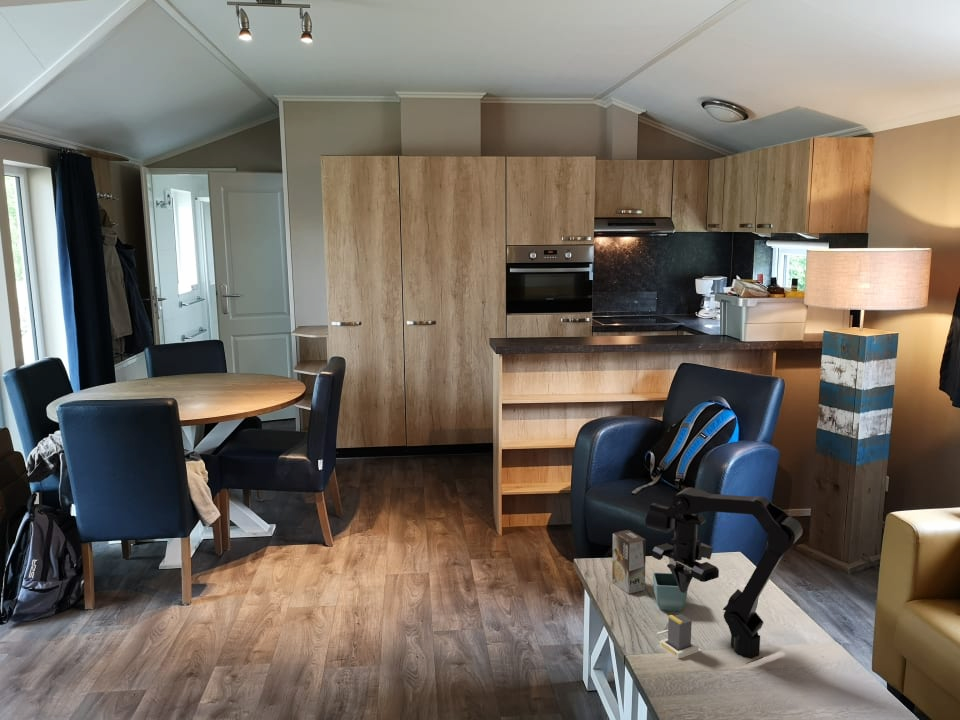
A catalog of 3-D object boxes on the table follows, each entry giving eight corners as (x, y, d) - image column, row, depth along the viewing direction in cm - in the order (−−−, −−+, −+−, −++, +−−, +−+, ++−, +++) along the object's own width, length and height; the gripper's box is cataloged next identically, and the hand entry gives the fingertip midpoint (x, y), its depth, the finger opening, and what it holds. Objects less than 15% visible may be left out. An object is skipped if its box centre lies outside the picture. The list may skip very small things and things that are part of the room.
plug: (690, 650, 194) (691, 618, 193) (678, 654, 192) (679, 622, 191) (678, 642, 198) (679, 611, 196) (666, 646, 196) (668, 615, 194)
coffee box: (646, 590, 230) (647, 539, 227) (628, 594, 227) (629, 543, 225) (627, 578, 238) (629, 529, 235) (610, 582, 235) (611, 532, 233)
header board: (707, 652, 195) (707, 643, 195) (674, 664, 190) (675, 654, 190) (672, 630, 207) (672, 621, 206) (640, 640, 201) (640, 631, 201)
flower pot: (682, 602, 222) (683, 573, 221) (687, 617, 214) (688, 587, 212) (651, 601, 223) (652, 572, 222) (655, 615, 214) (656, 585, 213)
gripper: (735, 542, 196) (732, 599, 198) (681, 519, 212) (679, 572, 214) (704, 551, 190) (701, 609, 193) (651, 527, 206) (650, 581, 209)
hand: (683, 592), depth 202 cm, fingers closed
